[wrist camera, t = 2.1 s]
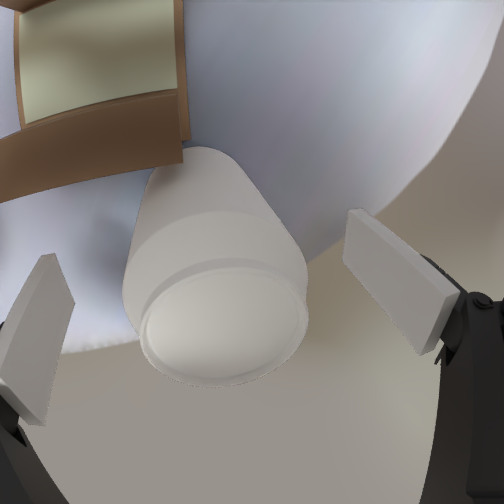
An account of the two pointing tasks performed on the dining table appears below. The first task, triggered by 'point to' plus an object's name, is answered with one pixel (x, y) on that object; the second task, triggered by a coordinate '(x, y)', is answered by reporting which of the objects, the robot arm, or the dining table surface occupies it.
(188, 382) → the beverage can
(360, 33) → the dining table surface
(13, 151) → the post bracket
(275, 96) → the dining table surface
